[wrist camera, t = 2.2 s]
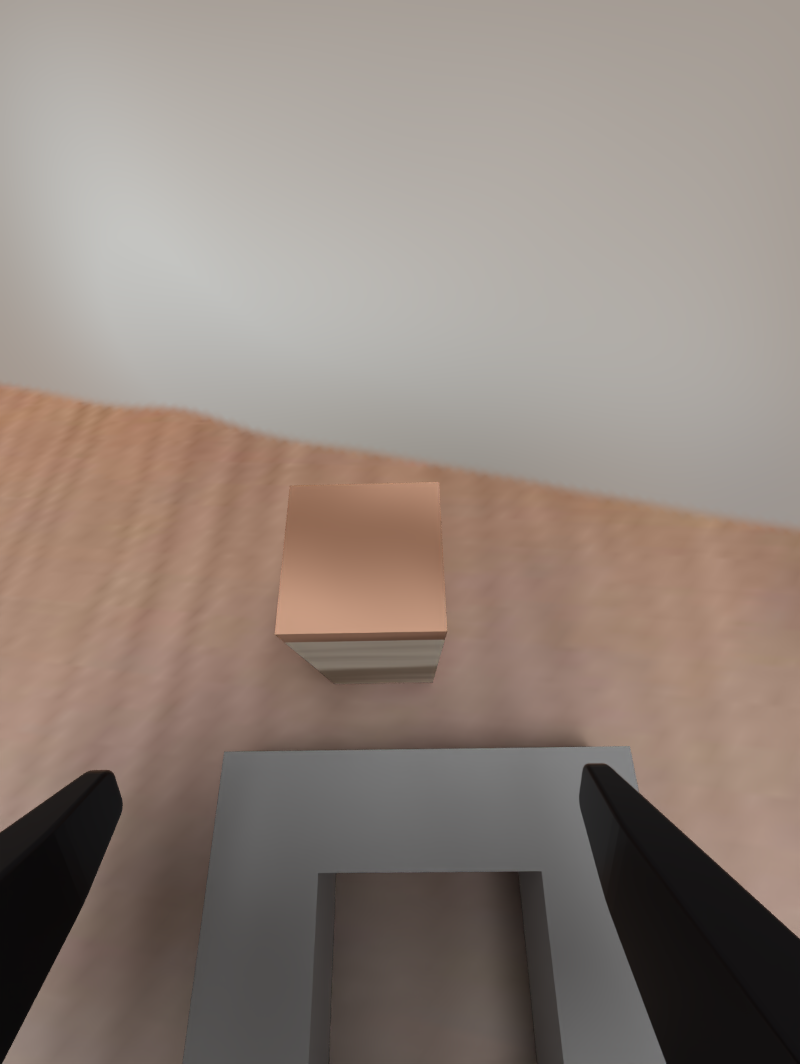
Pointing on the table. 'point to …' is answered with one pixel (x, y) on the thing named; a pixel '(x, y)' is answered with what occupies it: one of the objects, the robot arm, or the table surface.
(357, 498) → the peg
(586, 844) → the socket block
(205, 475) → the table surface
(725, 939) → the robot arm
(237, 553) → the table surface
